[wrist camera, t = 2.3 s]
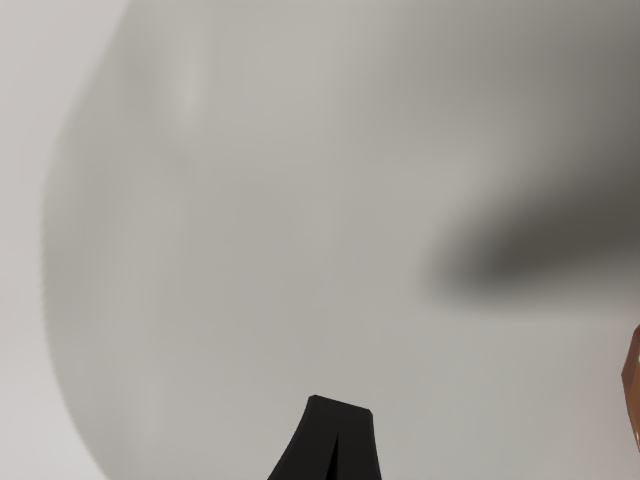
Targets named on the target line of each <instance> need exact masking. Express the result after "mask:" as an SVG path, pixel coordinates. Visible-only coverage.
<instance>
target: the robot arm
mask: <svg viewBox="0 0 640 480" xmlns="http://www.w3.org/2000/svg"><path fill="white" fill-rule="evenodd" d="M267 480H382V478H381V473H380V468H379V462H378V456H377V450H376V444H375V436H374V427H373V414H372V413H371V411H370V410H369V409H365V408H362V407H358V406H354V405H351V404H347V403H343V402H340V401H336V400H332V399H329V398H325V397H322V396H318V395H313V396H310V397H309V398H308V402H307V406H306V409H305V411H304V414H303V416H302V419H301V421H300V423H299V425H298V427H297V429H296V431H295V433H294V435H293V437H292V439H291V441H290V443H289V445H288V446H287V448H286V450H285V451H284V453H283V455H282V456H281V458H280V460H279V461H278V463H277V465H276V466H275V468H274V470H273V471H272V473H271V475H270V476H269V478H268V479H267Z"/></svg>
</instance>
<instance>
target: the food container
mask: <svg viewBox="0 0 640 480" xmlns="http://www.w3.org/2000/svg"><path fill="white" fill-rule="evenodd" d="M621 376H622V381H623V387H624V393H625V399H626V404H627V410H628V415H629V418H630V422H631V425H632V429H633V432H634V435H635V439H636V442H637V446H638V449H639V453H640V324H639V325H638V327H637V328H636V329H635V331H634V333H633V337H632V340H631V344H630V347H629V350H628V354H627V357H626V360H625V364H624V367H623V371H622V374H621Z"/></svg>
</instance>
